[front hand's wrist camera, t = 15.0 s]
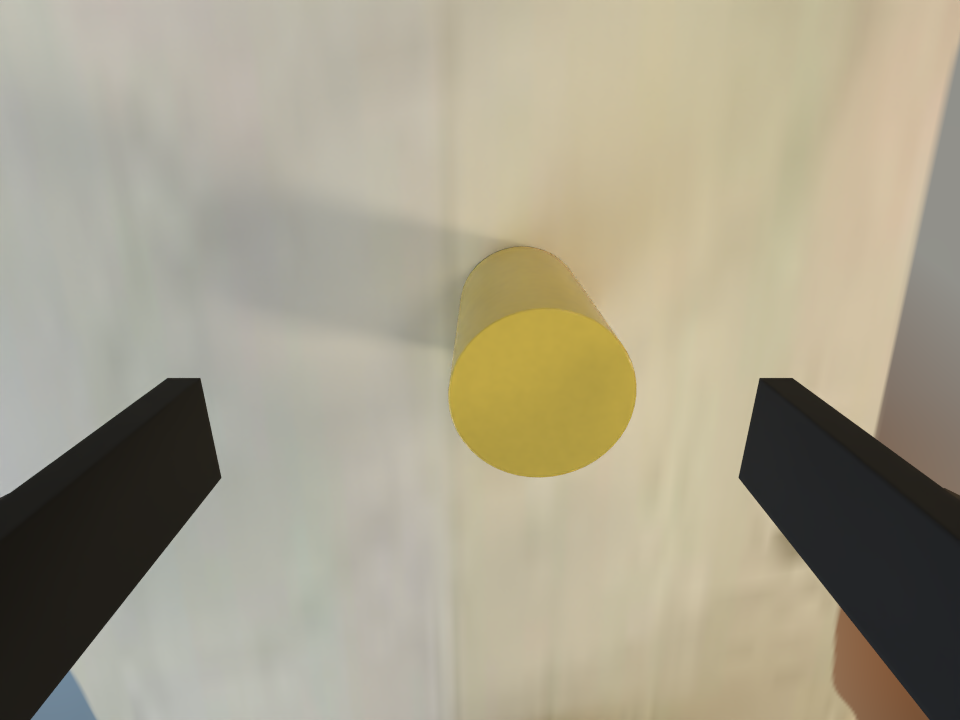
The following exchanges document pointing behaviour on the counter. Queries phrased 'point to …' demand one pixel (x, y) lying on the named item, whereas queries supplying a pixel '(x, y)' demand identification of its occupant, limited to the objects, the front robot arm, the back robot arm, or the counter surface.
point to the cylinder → (536, 368)
